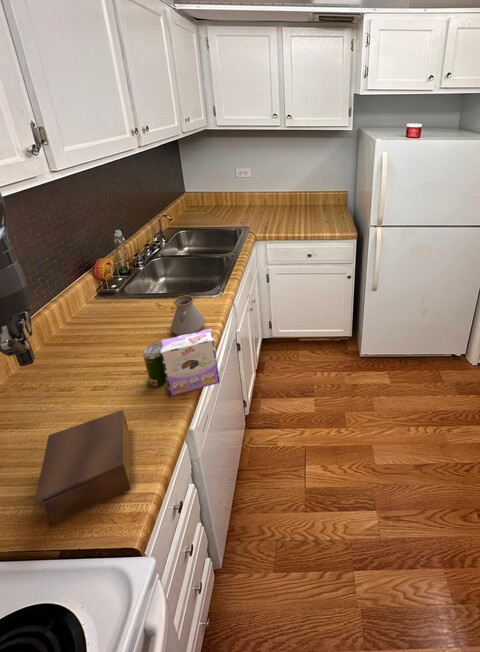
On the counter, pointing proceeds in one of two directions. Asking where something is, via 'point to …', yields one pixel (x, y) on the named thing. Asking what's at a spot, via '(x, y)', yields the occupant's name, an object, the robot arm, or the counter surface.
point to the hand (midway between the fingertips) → (27, 362)
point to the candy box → (190, 361)
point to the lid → (81, 454)
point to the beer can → (154, 365)
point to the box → (91, 489)
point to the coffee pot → (186, 317)
